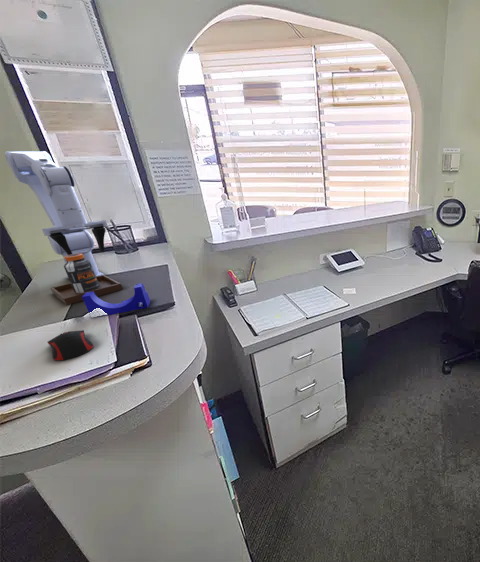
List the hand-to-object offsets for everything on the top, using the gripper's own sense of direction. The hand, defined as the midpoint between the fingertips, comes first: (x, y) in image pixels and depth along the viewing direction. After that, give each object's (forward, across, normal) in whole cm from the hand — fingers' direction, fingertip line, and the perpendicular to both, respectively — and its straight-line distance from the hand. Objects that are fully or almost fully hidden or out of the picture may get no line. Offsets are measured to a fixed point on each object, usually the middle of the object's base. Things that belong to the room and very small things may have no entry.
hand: (87, 253), depth 97 cm
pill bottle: (+10, -4, -4) cm, 12 cm away
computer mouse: (+13, -16, -42) cm, 47 cm away
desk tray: (+11, -4, -4) cm, 12 cm away
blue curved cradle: (+13, -3, -29) cm, 31 cm away
